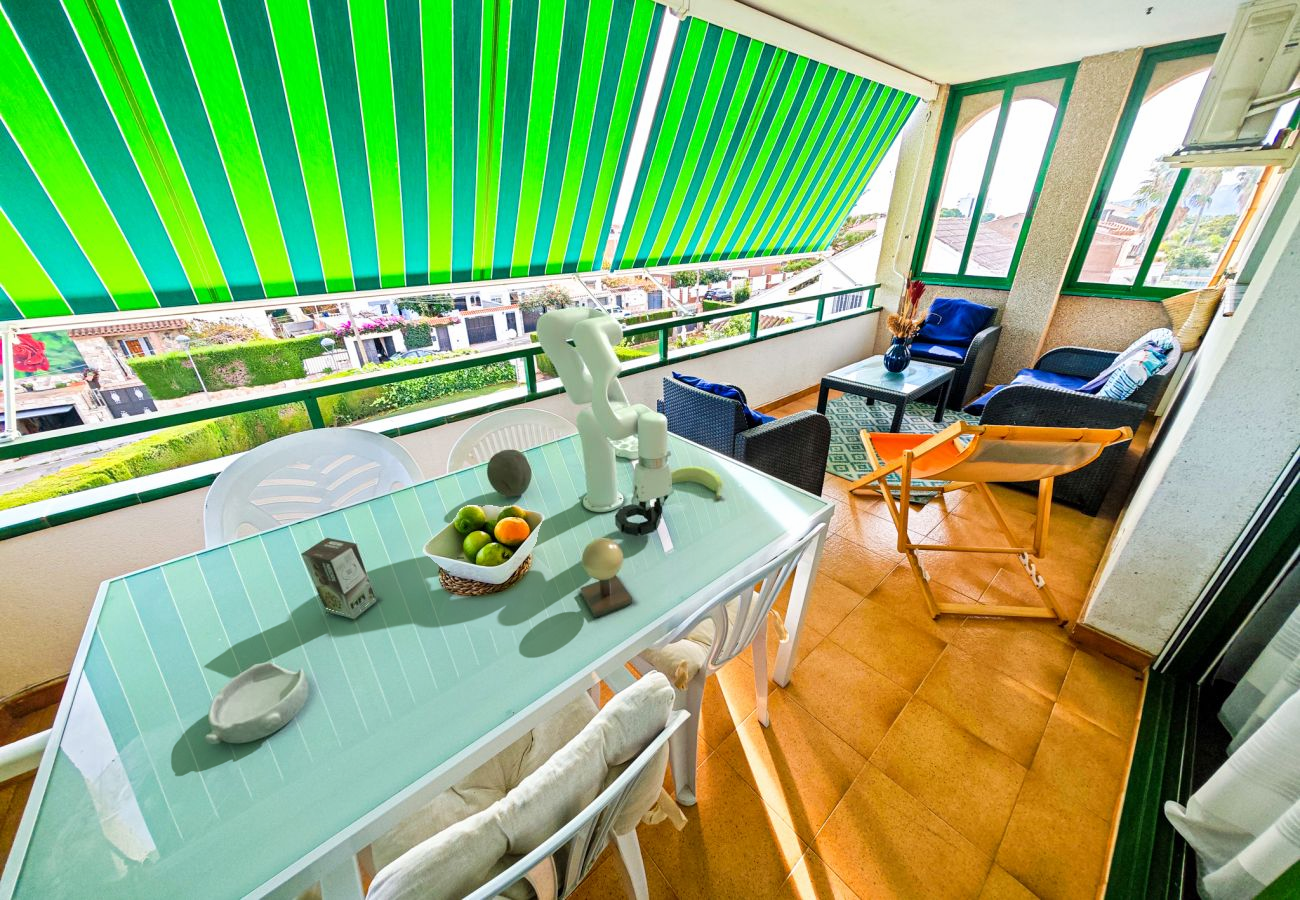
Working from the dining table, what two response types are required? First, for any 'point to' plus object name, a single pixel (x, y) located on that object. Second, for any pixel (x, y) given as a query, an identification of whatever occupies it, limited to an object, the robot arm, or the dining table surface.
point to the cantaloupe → (509, 473)
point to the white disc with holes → (626, 447)
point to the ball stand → (604, 577)
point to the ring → (636, 527)
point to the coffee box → (339, 577)
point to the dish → (256, 703)
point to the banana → (698, 477)
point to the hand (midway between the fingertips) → (652, 517)
